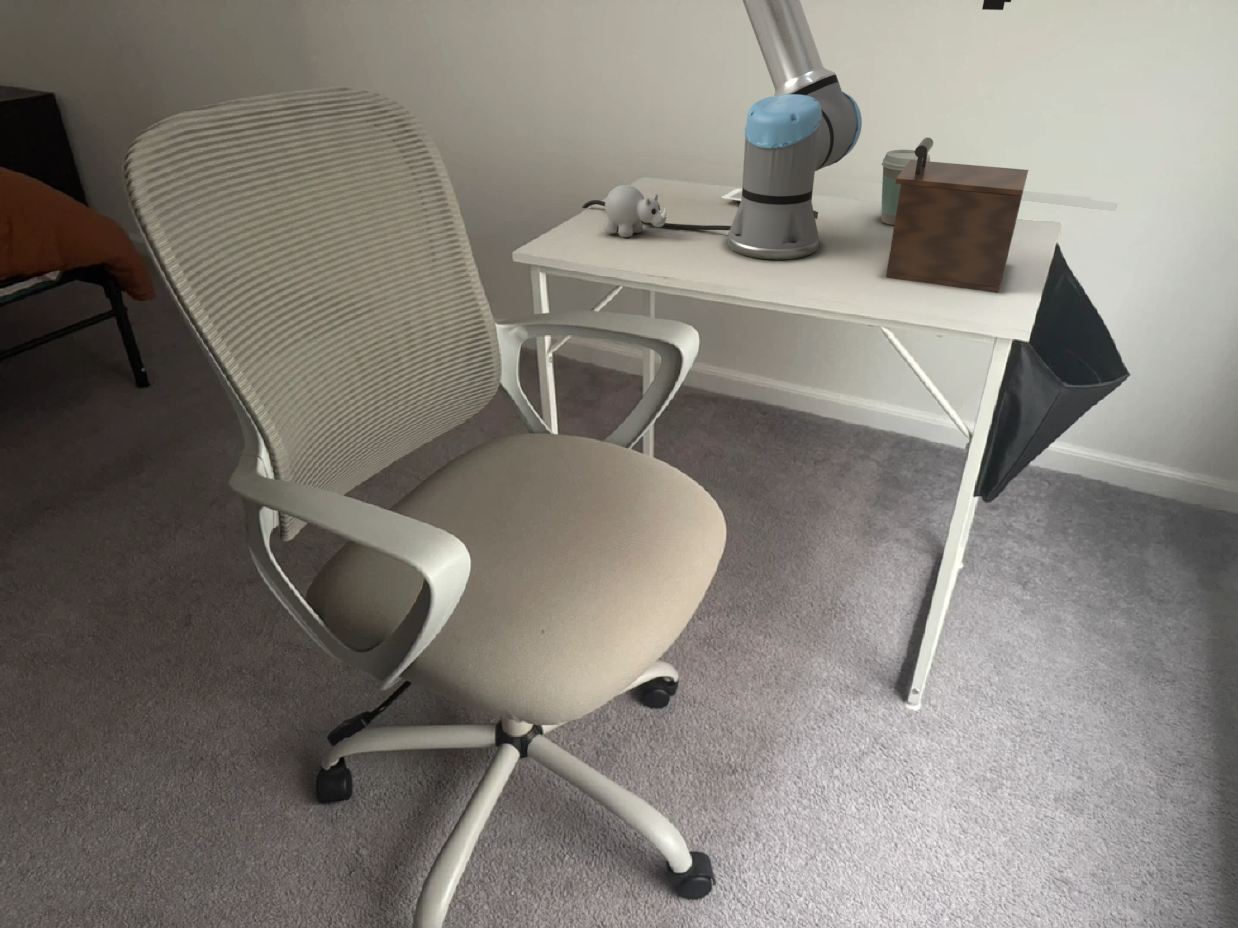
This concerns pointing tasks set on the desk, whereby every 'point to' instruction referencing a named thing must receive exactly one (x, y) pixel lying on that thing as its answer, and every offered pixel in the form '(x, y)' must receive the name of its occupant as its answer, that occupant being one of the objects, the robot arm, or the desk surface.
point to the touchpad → (734, 195)
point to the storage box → (952, 237)
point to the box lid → (960, 175)
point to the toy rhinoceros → (631, 211)
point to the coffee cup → (893, 181)
